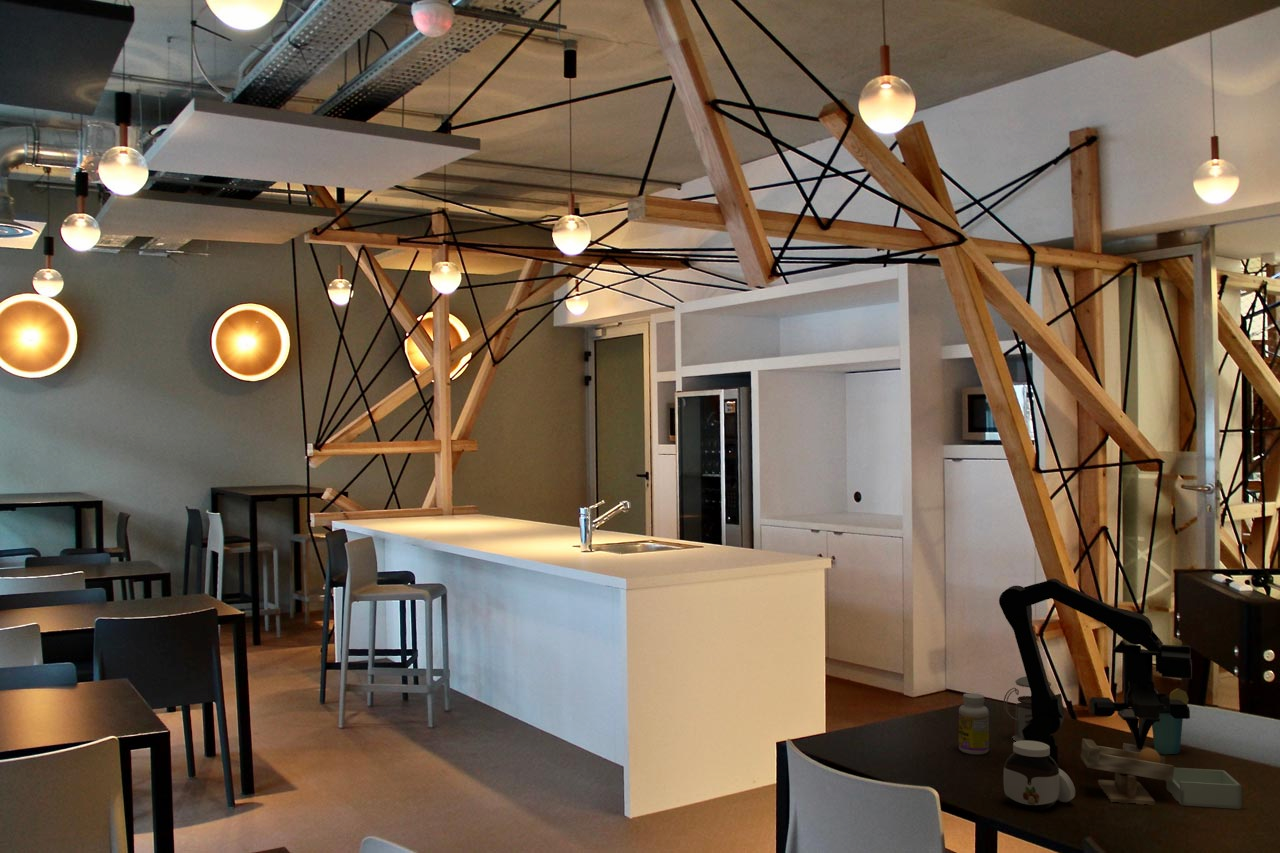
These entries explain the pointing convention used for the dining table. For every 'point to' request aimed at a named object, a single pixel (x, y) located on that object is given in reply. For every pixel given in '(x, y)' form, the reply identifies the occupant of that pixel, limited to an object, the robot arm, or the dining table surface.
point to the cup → (1169, 728)
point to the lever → (1124, 761)
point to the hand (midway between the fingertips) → (1139, 748)
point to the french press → (1021, 709)
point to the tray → (1205, 788)
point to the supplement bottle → (973, 725)
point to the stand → (1126, 790)
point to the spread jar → (1035, 777)
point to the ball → (1149, 755)
